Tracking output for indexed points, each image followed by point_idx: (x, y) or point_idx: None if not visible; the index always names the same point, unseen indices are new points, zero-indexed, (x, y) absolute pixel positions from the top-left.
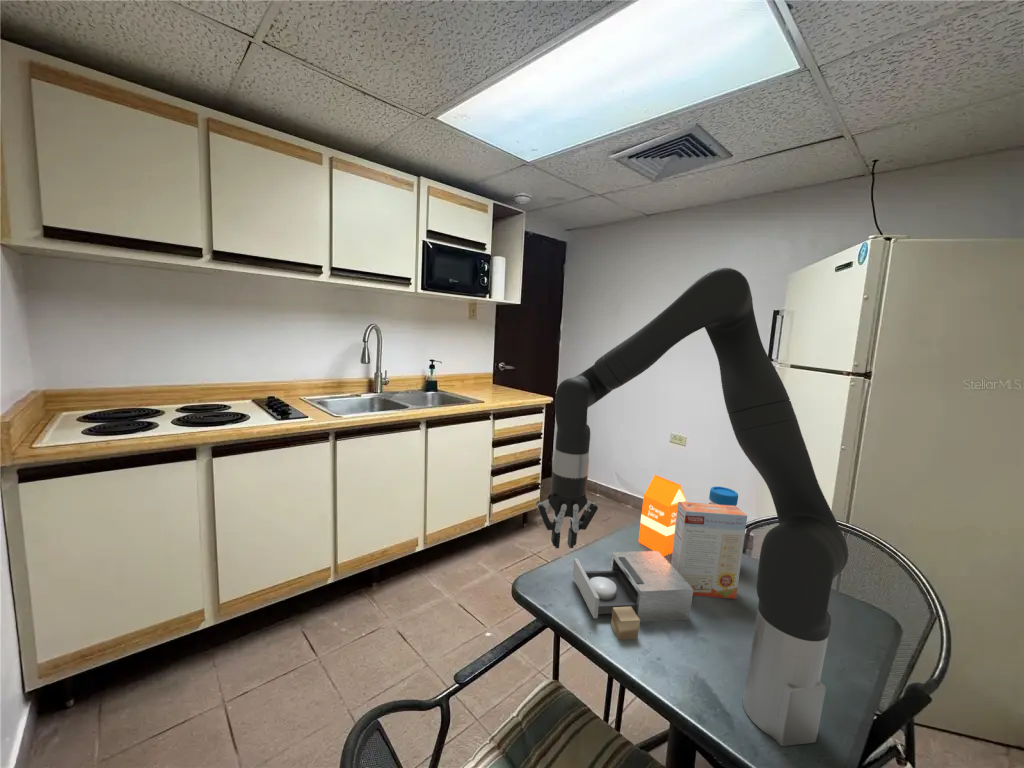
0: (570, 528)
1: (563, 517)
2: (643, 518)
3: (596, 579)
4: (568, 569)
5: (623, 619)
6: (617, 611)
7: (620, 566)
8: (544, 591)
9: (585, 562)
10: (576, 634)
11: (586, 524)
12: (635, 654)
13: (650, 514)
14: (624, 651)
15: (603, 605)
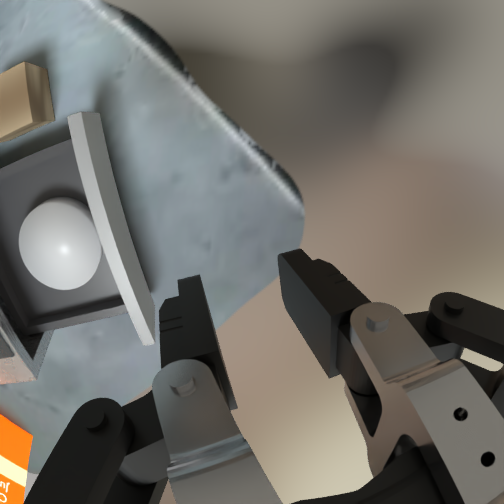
0: (227, 403)
1: (439, 441)
2: (20, 478)
3: (77, 273)
4: None
5: (15, 72)
6: (22, 104)
7: (3, 318)
8: (239, 232)
9: (123, 372)
10: (160, 60)
11: (73, 450)
12: (24, 34)
13: (3, 483)
14: (45, 34)
15: (60, 145)
